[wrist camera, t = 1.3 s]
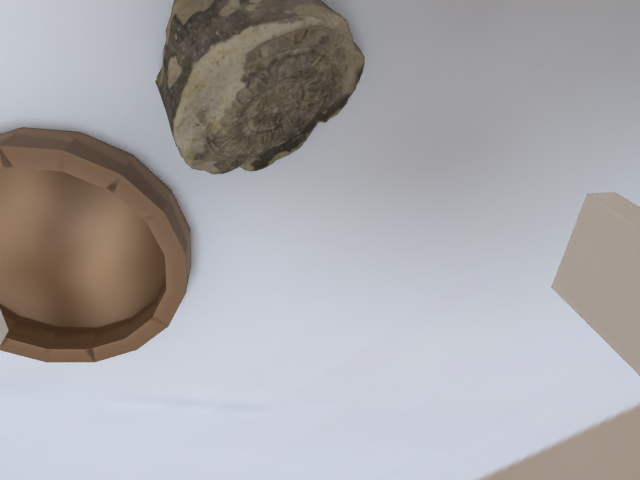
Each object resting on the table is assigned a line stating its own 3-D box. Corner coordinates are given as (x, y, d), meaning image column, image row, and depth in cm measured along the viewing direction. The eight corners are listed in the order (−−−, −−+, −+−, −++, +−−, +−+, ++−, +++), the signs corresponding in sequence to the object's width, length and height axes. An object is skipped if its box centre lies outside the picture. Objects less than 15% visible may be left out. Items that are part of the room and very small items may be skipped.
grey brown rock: (296, 191, 30) (220, 234, 21) (186, 111, 31) (66, 120, 22) (392, 35, 26) (349, 5, 17) (261, -54, 27) (151, -129, 17)
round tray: (189, 140, 28) (183, 159, 26) (191, 333, 36) (186, 362, 33) (-102, 117, 25) (-141, 134, 23) (-33, 331, 33) (-56, 362, 31)
